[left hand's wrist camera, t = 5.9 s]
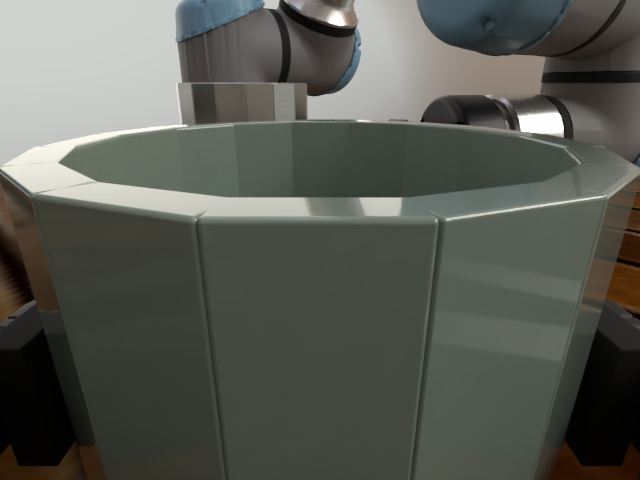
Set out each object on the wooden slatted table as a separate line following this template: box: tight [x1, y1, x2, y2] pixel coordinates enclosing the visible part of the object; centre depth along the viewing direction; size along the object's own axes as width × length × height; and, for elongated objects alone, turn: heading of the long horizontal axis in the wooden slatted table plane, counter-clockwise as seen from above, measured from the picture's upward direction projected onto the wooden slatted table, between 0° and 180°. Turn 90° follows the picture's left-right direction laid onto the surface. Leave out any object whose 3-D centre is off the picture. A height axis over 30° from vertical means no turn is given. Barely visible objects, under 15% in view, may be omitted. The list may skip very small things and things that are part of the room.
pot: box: [0, 120, 640, 480], centre depth 10 cm, size 10×10×11 cm
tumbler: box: [176, 83, 307, 125], centre depth 28 cm, size 8×8×12 cm
